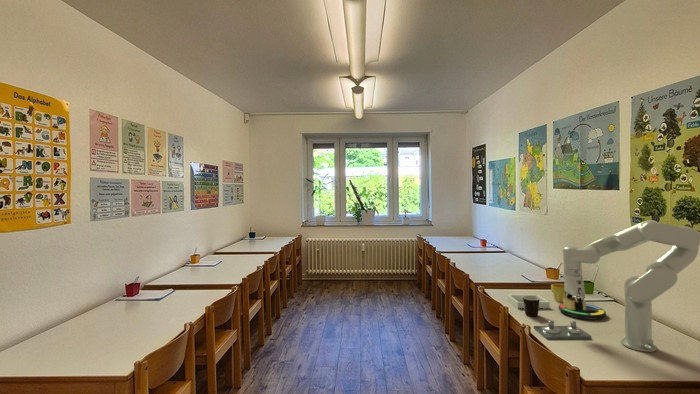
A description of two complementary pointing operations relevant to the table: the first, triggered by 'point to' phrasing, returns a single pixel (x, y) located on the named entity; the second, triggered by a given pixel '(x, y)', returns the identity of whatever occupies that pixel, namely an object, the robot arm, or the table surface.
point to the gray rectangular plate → (562, 333)
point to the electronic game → (584, 312)
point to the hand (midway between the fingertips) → (574, 307)
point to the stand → (573, 328)
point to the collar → (572, 303)
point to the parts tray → (515, 298)
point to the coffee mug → (531, 305)
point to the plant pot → (558, 292)
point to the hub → (551, 327)
